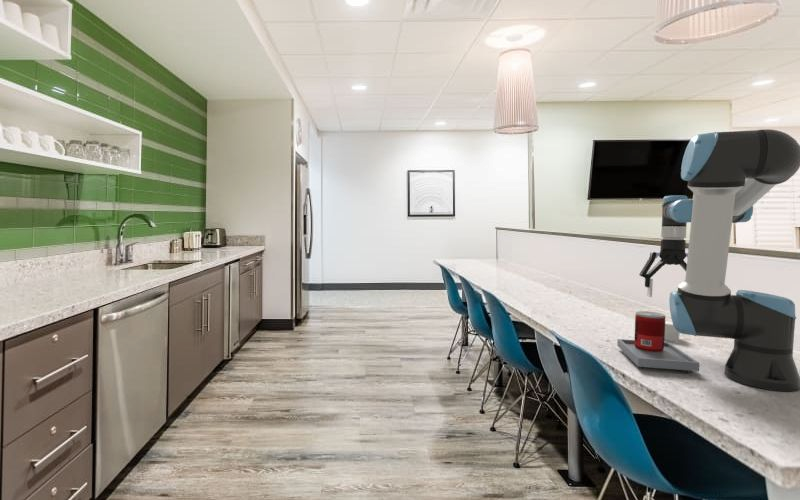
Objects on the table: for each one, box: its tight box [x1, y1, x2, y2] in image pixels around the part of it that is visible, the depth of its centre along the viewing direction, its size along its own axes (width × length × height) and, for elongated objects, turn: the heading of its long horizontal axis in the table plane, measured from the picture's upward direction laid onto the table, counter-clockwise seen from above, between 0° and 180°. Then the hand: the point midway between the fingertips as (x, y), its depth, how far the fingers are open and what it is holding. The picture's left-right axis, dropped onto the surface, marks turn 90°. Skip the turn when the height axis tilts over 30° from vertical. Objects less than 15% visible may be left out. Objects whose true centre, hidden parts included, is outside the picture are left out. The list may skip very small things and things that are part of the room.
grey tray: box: [616, 338, 700, 373], centre depth 124 cm, size 21×15×4 cm
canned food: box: [633, 310, 666, 352], centre depth 128 cm, size 8×8×11 cm
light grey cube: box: [664, 320, 681, 343], centre depth 150 cm, size 6×6×6 cm
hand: (670, 297), depth 150 cm, fingers open, 13 cm apart
